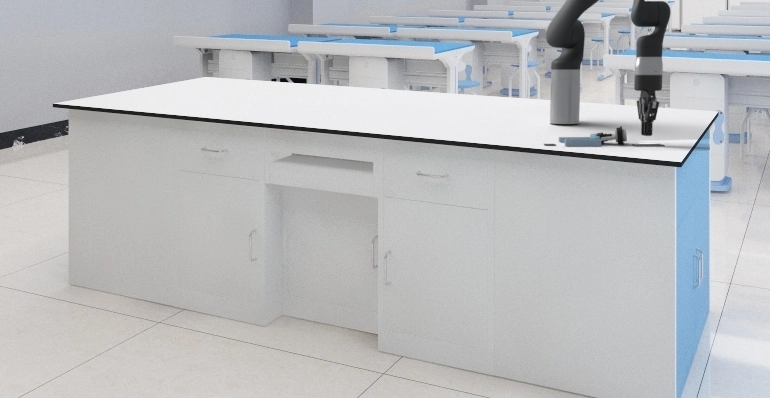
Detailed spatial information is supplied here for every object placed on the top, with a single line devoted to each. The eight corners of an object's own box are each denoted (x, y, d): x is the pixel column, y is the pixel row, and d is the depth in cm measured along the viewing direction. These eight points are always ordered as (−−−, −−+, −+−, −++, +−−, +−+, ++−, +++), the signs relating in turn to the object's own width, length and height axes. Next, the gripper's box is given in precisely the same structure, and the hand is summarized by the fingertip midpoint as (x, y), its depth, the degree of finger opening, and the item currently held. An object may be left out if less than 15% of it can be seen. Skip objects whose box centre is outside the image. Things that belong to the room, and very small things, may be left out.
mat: (628, 144, 267) (628, 143, 267) (655, 144, 267) (655, 142, 267) (636, 146, 259) (636, 144, 259) (664, 146, 259) (664, 144, 259)
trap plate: (542, 144, 268) (542, 143, 268) (552, 144, 268) (552, 143, 268) (545, 145, 263) (545, 144, 263) (556, 145, 263) (556, 144, 263)
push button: (591, 151, 263) (627, 147, 261) (589, 133, 261) (626, 128, 259) (591, 146, 269) (626, 142, 267) (589, 128, 268) (624, 124, 265)
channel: (558, 144, 270) (558, 137, 269) (592, 143, 270) (592, 137, 270) (565, 146, 260) (565, 139, 260) (601, 146, 260) (601, 139, 260)
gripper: (669, 73, 254) (667, 136, 256) (654, 73, 268) (652, 134, 270) (642, 73, 254) (640, 137, 256) (628, 73, 267) (626, 134, 270)
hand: (646, 135), depth 263 cm, fingers closed
